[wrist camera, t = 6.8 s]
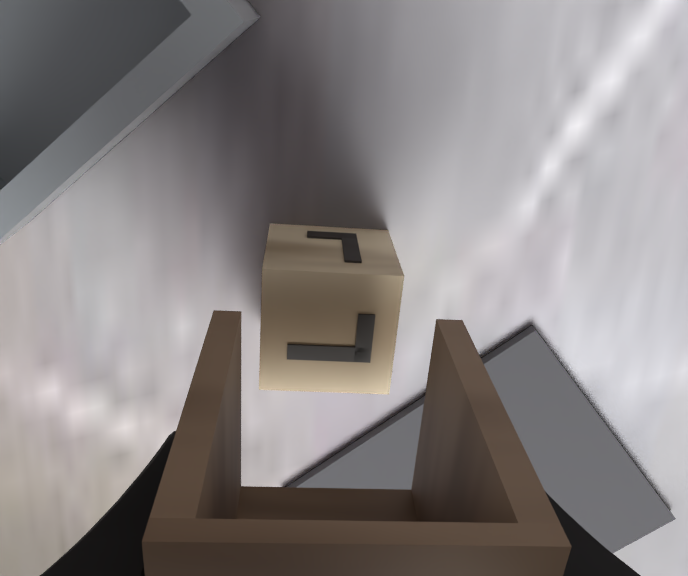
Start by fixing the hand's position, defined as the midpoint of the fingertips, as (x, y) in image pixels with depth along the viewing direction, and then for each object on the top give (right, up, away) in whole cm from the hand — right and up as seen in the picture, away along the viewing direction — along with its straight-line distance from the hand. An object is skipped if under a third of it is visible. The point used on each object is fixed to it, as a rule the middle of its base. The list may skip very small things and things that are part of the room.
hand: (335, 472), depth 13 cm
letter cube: (0, +4, +9) cm, 10 cm away
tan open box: (0, +1, +2) cm, 2 cm away
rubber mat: (+6, -5, +13) cm, 15 cm away
